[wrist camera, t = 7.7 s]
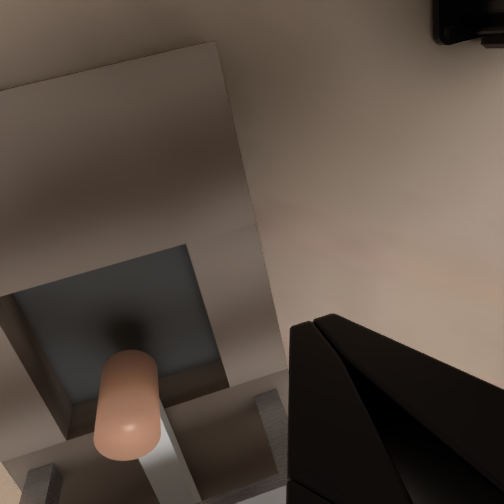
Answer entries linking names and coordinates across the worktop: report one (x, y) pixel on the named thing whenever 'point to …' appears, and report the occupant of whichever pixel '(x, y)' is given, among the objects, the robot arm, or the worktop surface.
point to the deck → (132, 273)
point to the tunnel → (238, 500)
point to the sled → (141, 426)
